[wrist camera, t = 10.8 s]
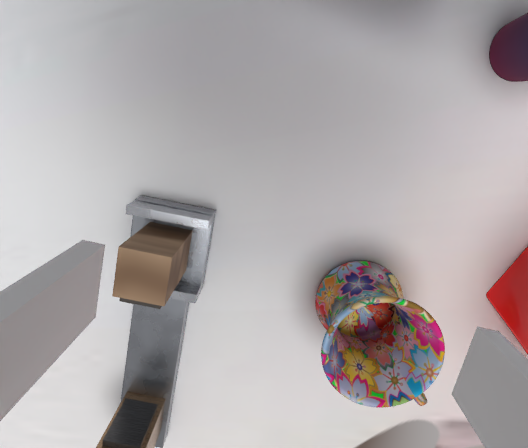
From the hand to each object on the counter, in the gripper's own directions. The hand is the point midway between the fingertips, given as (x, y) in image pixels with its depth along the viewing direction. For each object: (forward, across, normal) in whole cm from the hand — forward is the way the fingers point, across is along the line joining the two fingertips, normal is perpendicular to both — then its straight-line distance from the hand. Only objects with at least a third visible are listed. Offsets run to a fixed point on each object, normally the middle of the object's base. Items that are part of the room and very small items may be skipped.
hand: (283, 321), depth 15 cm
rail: (+26, -9, -16) cm, 32 cm away
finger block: (+24, -9, -7) cm, 27 cm away
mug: (+26, +11, -10) cm, 30 cm away
